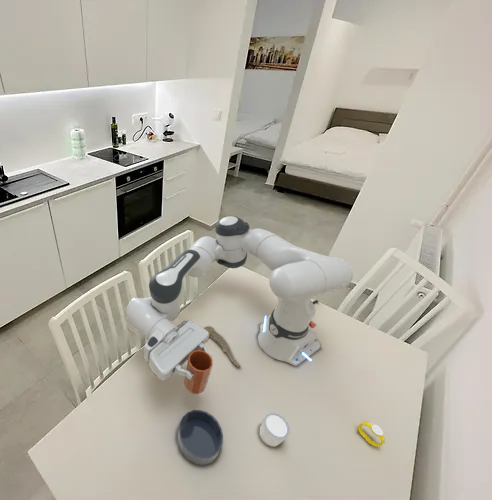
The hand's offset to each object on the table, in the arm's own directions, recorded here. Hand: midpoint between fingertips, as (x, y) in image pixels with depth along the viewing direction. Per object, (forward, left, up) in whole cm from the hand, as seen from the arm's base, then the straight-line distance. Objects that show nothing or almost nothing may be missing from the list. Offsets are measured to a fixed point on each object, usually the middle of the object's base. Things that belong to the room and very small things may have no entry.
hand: (201, 368), depth 77 cm
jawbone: (-16, -14, -20) cm, 29 cm away
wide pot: (+4, +10, -20) cm, 22 cm away
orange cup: (0, -1, -9) cm, 9 cm away
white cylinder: (-16, +16, -20) cm, 30 cm away
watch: (-42, +26, -20) cm, 53 cm away
